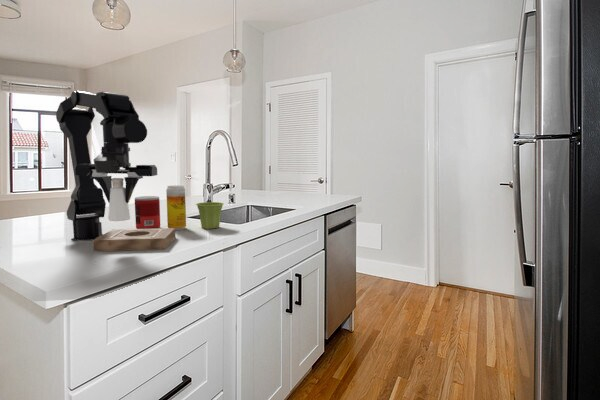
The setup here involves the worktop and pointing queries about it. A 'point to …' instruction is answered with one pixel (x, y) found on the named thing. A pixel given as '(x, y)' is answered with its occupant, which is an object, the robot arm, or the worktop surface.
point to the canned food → (147, 212)
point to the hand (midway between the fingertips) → (118, 202)
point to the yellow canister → (176, 207)
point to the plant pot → (210, 214)
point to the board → (134, 239)
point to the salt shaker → (118, 202)
